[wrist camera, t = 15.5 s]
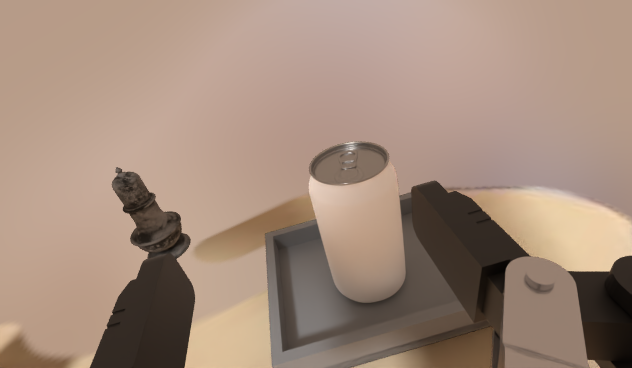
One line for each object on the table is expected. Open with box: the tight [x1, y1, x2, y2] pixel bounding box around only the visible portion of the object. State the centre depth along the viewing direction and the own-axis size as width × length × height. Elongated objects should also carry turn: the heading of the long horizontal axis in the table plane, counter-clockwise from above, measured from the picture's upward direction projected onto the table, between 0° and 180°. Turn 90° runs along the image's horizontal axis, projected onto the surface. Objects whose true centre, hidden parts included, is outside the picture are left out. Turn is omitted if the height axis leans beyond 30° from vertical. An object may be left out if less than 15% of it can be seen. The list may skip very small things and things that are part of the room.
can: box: [309, 142, 406, 303], centre depth 26 cm, size 6×6×12 cm
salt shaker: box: [112, 167, 190, 259], centre depth 37 cm, size 6×6×12 cm
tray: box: [265, 193, 491, 368], centre depth 29 cm, size 18×14×3 cm
